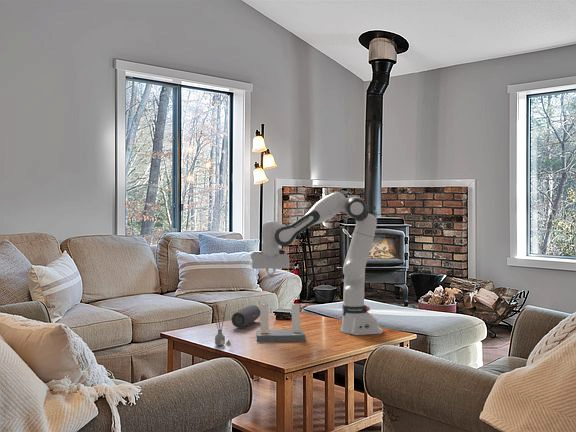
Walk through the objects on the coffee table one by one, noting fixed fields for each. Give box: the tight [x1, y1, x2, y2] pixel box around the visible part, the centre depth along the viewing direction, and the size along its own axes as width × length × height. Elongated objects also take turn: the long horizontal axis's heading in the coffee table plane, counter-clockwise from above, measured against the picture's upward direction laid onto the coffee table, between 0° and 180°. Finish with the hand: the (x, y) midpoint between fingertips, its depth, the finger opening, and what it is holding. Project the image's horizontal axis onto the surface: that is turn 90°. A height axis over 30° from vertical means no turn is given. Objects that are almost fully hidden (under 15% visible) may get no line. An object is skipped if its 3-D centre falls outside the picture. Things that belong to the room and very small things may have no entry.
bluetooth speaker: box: [231, 304, 261, 328], centre depth 337 cm, size 23×9×10 cm, turn 162°
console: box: [255, 329, 306, 343], centre depth 307 cm, size 24×12×3 cm, turn 94°
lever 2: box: [291, 303, 301, 331], centre depth 310 cm, size 4×2×14 cm, turn 94°
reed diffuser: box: [211, 304, 231, 346], centre depth 294 cm, size 10×7×20 cm
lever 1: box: [259, 303, 270, 332], centre depth 309 cm, size 4×2×14 cm, turn 94°
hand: (270, 277), depth 324 cm, fingers closed
